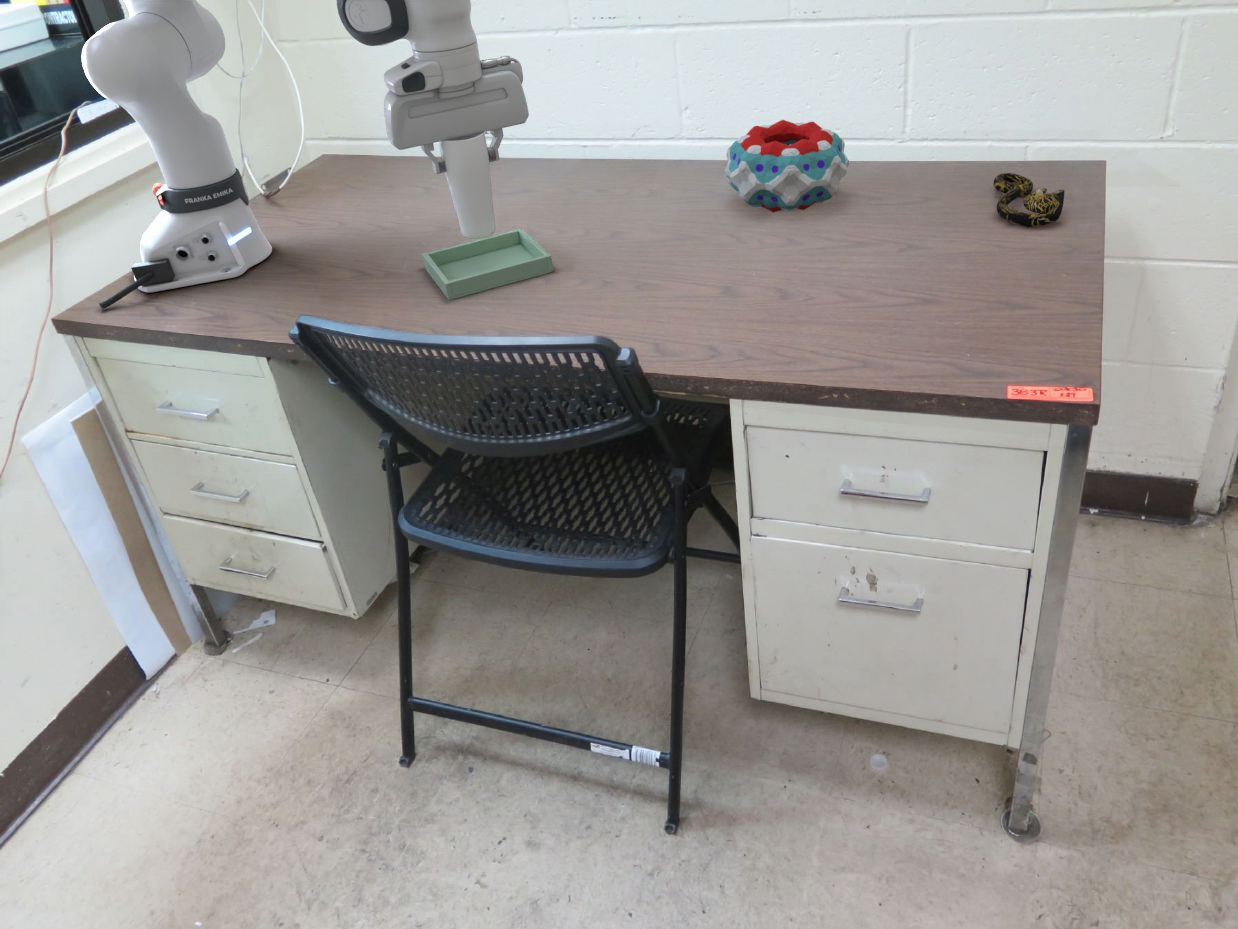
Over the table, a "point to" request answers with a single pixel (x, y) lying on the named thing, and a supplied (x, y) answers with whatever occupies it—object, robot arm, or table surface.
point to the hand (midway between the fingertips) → (466, 166)
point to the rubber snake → (1027, 201)
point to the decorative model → (786, 165)
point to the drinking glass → (470, 183)
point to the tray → (487, 263)
